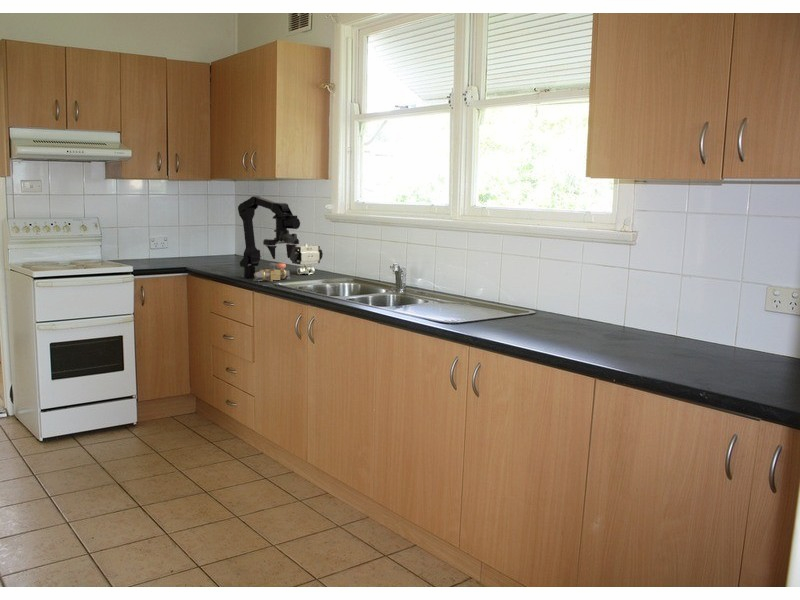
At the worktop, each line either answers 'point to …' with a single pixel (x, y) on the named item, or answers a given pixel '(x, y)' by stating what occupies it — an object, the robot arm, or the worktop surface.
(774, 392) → the worktop surface
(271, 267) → the lever
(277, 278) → the valve body
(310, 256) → the ball valve
